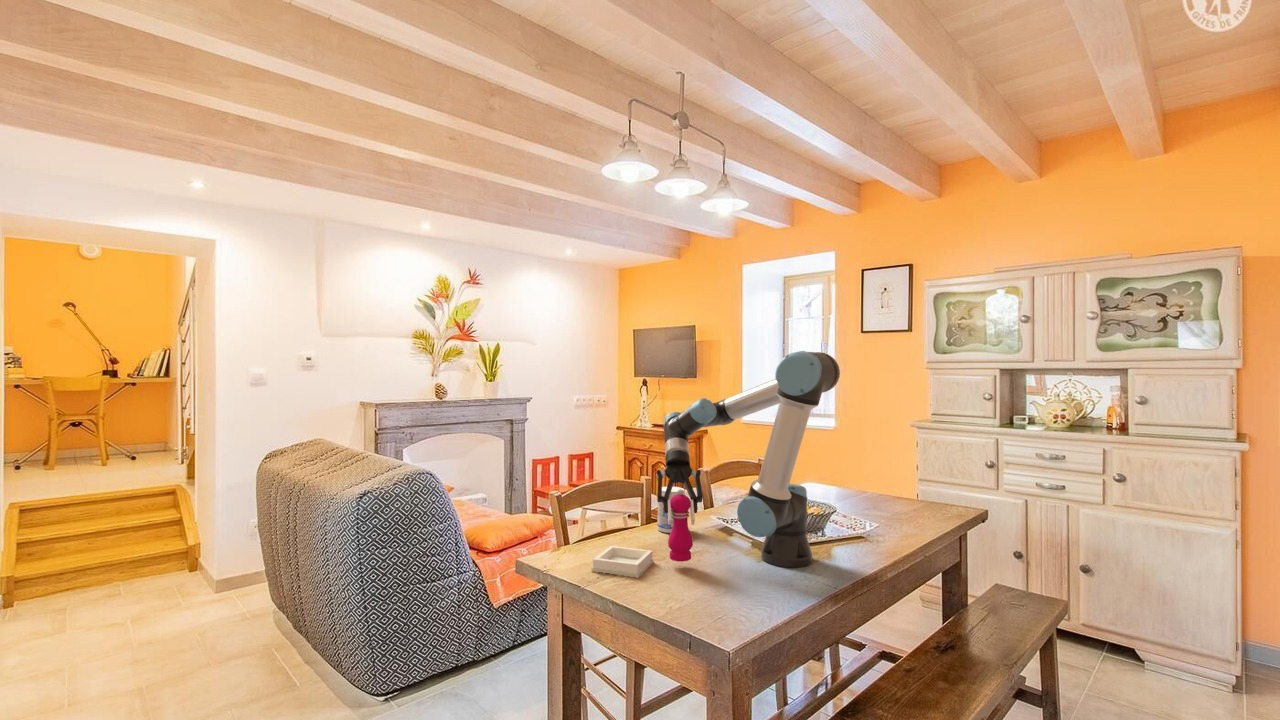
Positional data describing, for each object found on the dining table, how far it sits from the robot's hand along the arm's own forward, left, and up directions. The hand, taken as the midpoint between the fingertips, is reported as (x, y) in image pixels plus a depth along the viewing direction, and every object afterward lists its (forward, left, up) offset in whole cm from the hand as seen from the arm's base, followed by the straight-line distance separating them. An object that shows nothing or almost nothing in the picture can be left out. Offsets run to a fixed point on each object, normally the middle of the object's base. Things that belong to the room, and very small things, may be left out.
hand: (681, 522), depth 172 cm
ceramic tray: (+17, +2, -14) cm, 22 cm away
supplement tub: (+15, -40, -15) cm, 45 cm away
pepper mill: (+1, -3, -12) cm, 12 cm away
